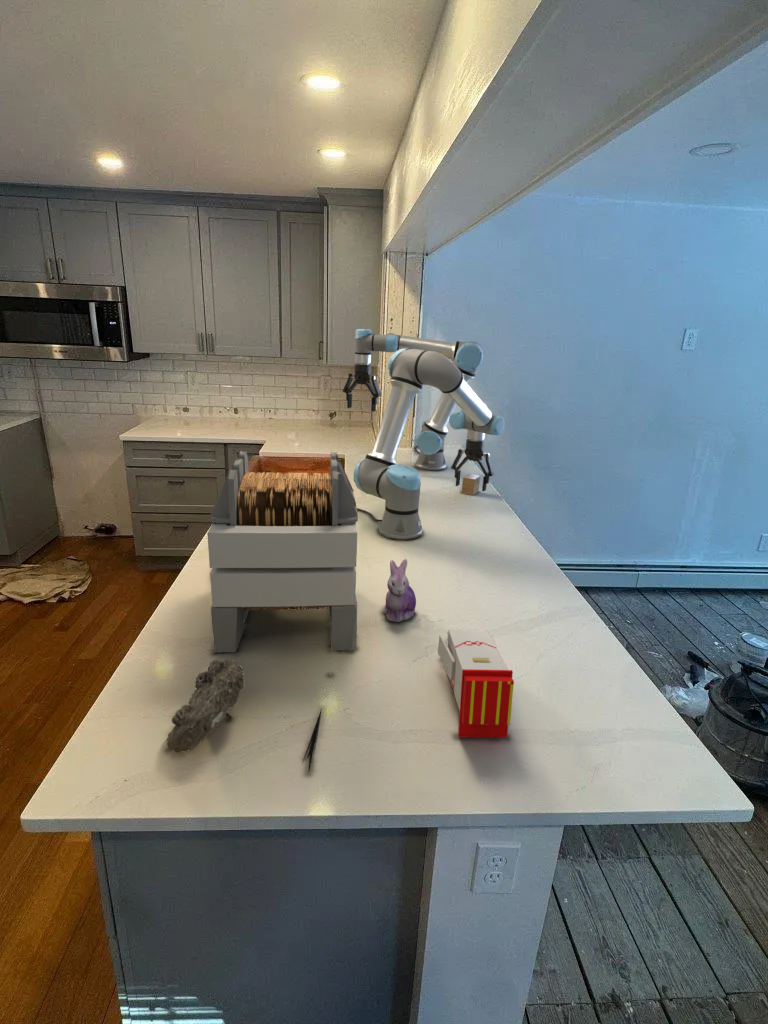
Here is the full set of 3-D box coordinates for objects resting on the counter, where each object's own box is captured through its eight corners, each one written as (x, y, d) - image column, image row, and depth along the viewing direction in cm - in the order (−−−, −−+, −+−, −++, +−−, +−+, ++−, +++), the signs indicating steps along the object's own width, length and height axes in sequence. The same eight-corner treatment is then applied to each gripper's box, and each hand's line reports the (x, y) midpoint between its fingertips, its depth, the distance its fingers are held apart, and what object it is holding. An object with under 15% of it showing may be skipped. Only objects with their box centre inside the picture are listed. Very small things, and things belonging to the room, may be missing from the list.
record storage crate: (232, 584, 158) (225, 442, 144) (349, 583, 162) (353, 444, 148) (211, 655, 127) (198, 480, 113) (357, 651, 130) (362, 482, 117)
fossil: (192, 660, 117) (244, 628, 112) (224, 691, 120) (276, 661, 115) (142, 746, 98) (202, 712, 93) (182, 779, 101) (242, 748, 96)
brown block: (472, 495, 245) (474, 479, 243) (461, 493, 248) (462, 477, 245) (478, 491, 251) (480, 475, 248) (467, 489, 253) (468, 473, 251)
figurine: (392, 627, 141) (395, 572, 136) (374, 608, 149) (376, 556, 144) (425, 619, 145) (429, 566, 140) (405, 601, 154) (408, 550, 149)
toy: (488, 613, 130) (523, 677, 101) (484, 667, 133) (517, 744, 104) (435, 612, 130) (455, 676, 101) (432, 666, 133) (451, 743, 103)
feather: (331, 679, 122) (336, 673, 122) (307, 777, 96) (313, 769, 95) (324, 675, 122) (329, 669, 121) (298, 772, 95) (304, 764, 95)
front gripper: (505, 442, 239) (499, 491, 246) (453, 433, 250) (449, 481, 257) (499, 445, 233) (493, 495, 240) (446, 436, 244) (442, 484, 251)
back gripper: (389, 365, 261) (387, 411, 268) (344, 361, 272) (344, 405, 279) (381, 366, 255) (379, 413, 262) (335, 361, 266) (335, 407, 273)
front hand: (470, 487), depth 249 cm, fingers open, 12 cm apart
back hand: (361, 409), depth 271 cm, fingers open, 13 cm apart
